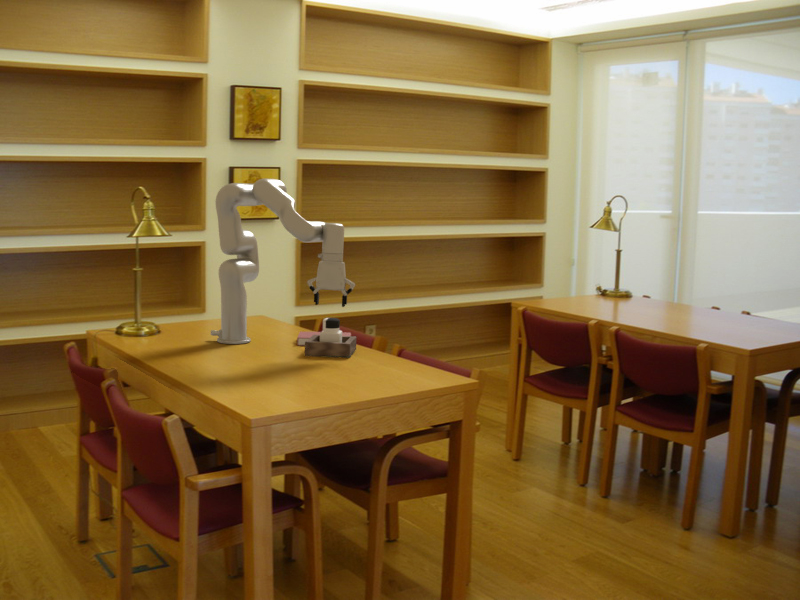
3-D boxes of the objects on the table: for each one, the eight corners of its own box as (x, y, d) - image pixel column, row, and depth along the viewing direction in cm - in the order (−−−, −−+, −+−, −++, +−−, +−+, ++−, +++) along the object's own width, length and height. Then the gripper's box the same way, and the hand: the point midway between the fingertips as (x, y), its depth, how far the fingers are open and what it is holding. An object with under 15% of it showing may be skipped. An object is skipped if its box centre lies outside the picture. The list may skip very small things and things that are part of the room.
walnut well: (304, 355, 295) (304, 342, 294) (313, 347, 310) (313, 334, 310) (349, 358, 293) (349, 343, 293) (356, 349, 309) (356, 336, 308)
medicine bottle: (342, 349, 305) (342, 317, 304) (339, 353, 298) (339, 320, 296) (322, 349, 306) (323, 316, 304) (319, 352, 299) (319, 319, 297)
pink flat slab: (297, 345, 314) (297, 337, 314) (299, 339, 329) (299, 331, 328) (350, 346, 315) (350, 338, 315) (350, 340, 330) (350, 332, 329)
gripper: (306, 257, 295) (304, 305, 297) (354, 260, 293) (352, 308, 296) (310, 255, 302) (308, 302, 304) (357, 258, 301) (355, 305, 303)
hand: (330, 305), depth 300 cm, fingers open, 9 cm apart
